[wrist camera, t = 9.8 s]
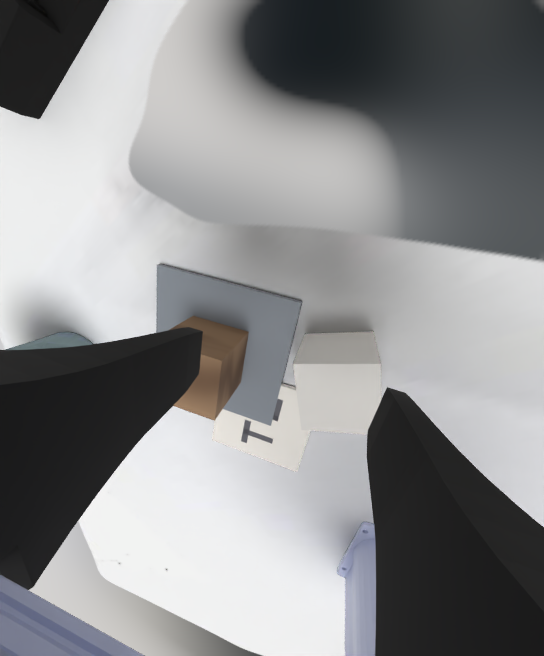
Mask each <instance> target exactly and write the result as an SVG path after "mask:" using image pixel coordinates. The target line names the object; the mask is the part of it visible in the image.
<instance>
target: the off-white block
mask: <svg viewBox="0 0 544 656" xmlns="http://www.w3.org/2000/svg"><path fill="white" fill-rule="evenodd" d="M293 369H294V377H295V385H296V392H297V400H298V407H299V415H300V423H301V430H307V431H321V432H334V433H347V434H361V435H368V429H369V426H370V424H371V422H372V420H373V418H374V415H375V413H376V411H377V409H378V407H379V404H380V402H381V361H380V357H379V352H378V348H377V344H376V339H375V335H374V331H367V332H339V333H311V334H305V335H304V337H303V340H302V342H301V345H300V347H299V350H298V352H297V355H296V357H295V360H294V362H293Z"/></svg>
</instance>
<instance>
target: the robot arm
mask: <svg viewBox="0 0 544 656" xmlns="http://www.w3.org/2000/svg"><path fill="white" fill-rule="evenodd" d="M202 336H203V331H201V330H197V329H194V328H191V327H184V328H178V329H172V330H168V331H163V332H158V333H154V334H149V335H144V336H139V337H134V338H129V339H123V340H118V341H112V342H106V343H100V344H92V345H84V346H75V347H63V348H46V349H29V350H0V656H144V655H142V654H140V653H139V652H137V651H135V650H134V649H132V648H130V647H128V646H126V645H125V644H123V643H121V642H119V641H117V640H116V639H114V638H112V637H110V636H109V635H107V634H105V633H103V632H101V631H100V630H98V629H96V628H94V627H93V626H91V625H89V624H87V623H85V622H84V621H82V620H80V619H78V618H77V617H75V616H73V615H71V614H69V613H68V612H66V611H64V610H62V609H60V608H59V607H57V606H55V605H53V604H51V603H50V602H48V601H46V600H44V599H43V598H41V597H39V596H37V595H35V594H34V593H32V592H30V591H28V590H29V589H31V588H32V587H33V586H34V585H35V583H36V582H37V580H38V579H39V577H40V576H41V574H42V573H43V571H44V570H45V568H46V567H47V565H48V564H49V562H50V561H51V559H52V558H53V556H54V555H55V553H56V552H57V550H58V549H59V547H60V546H61V545H62V543H63V542H64V540H65V539H66V537H67V536H68V534H69V533H70V531H71V530H72V528H73V527H74V525H75V524H76V523H77V521H78V520H79V519H80V517H81V516H82V515H83V513H84V512H85V510H86V509H87V508H88V506H89V505H90V503H91V502H92V501H93V499H94V498H95V496H96V495H97V494H98V492H99V491H100V490H101V488H102V487H103V486H104V485H105V483H106V482H107V481H108V479H109V478H110V477H111V475H112V474H113V473H114V471H115V470H116V469H117V467H118V466H119V465H120V464H121V462H122V461H123V460H124V459H125V457H126V456H127V455H128V454H129V452H130V451H131V450H132V449H133V447H134V446H135V445H136V444H137V443H138V442H139V441H140V439H141V438H142V437H143V436H144V435H145V434H146V433H147V432H148V431H149V430H150V429H151V428H152V427H153V426H154V425H155V424H156V423H157V422H158V421H159V420H160V419H161V417H162V416H163V415H164V414H165V413H166V412H167V411H168V410H169V409H170V408H171V407H172V406H173V405H174V404H175V403H176V402H177V401H178V400H179V399H180V398H181V397H182V396H183V395H184V394H185V393H186V391H187V390H188V389H189V387H190V386H191V385H192V383H193V382H194V380H195V379H196V378H197V376H198V375H199V370H200V359H201V348H202ZM367 462H368V472H369V482H370V491H371V500H372V509H373V518H374V524H371V523H369V522H363V523H362V524H361V526H360V527H359V529H358V531H357V533H356V535H355V537H354V538H353V540H352V542H351V544H350V546H349V548H348V549H347V551H346V553H345V555H344V557H343V559H342V560H341V562H340V564H339V566H338V568H337V574H338V575H340V576H342V577H344V578H345V656H544V527H543V526H541V525H540V524H539V523H538V522H536V521H535V520H534V519H533V518H532V517H530V516H529V515H528V514H527V513H526V512H524V511H523V510H522V509H521V508H520V507H518V506H517V505H516V504H515V503H514V502H513V501H512V500H511V499H509V498H508V497H507V496H506V495H505V494H504V493H503V492H502V491H500V490H499V489H498V488H497V487H496V486H495V485H494V484H493V483H491V482H490V481H489V480H488V479H487V478H486V477H485V476H484V475H483V474H482V473H481V472H480V471H479V470H478V469H477V468H476V467H475V466H474V465H473V464H472V463H471V462H470V461H469V460H468V459H467V458H466V457H465V456H464V455H463V454H462V453H461V452H460V451H459V450H458V449H457V448H456V447H455V446H454V445H453V444H452V443H451V442H450V441H449V440H448V439H447V438H446V437H445V436H444V434H443V433H442V432H441V431H440V430H439V429H438V428H437V427H436V426H435V425H434V423H433V422H432V421H431V420H430V419H429V418H428V417H427V416H426V414H425V413H424V412H423V411H422V410H421V409H420V408H419V407H418V406H417V404H416V403H415V402H414V401H413V400H412V399H411V398H410V397H409V396H408V395H407V394H406V393H404V392H401V391H397V390H394V389H391V388H388V387H387V389H386V391H385V393H384V396H383V398H382V400H381V402H380V404H379V407H378V409H377V411H376V413H375V415H374V418H373V420H372V422H371V424H370V426H369V429H368V436H367Z"/></svg>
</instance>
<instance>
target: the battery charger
mask: <svg viewBox="0 0 544 656" xmlns="http://www.w3.org/2000/svg"><path fill="white" fill-rule="evenodd" d="M108 1H109V0H0V106H1V107H3V108H6V109H8V110H10V111H13V112H15V113H18V114H20V115H24V116H28V117H33V118H37V119H40V118H41V116H42V114H43V112H44V111H45V109H46V107H47V106H48V104H49V102H50V100H51V99H52V97H53V95H54V94H55V92H56V90H57V88H58V87H59V85H60V83H61V82H62V80H63V78H64V76H65V75H66V73H67V71H68V70H69V68H70V66H71V64H72V63H73V61H74V59H75V58H76V56H77V54H78V52H79V51H80V49H81V47H82V46H83V44H84V42H85V40H86V39H87V37H88V35H89V34H90V32H91V30H92V29H93V27H94V25H95V23H96V22H97V20H98V18H99V17H100V15H101V13H102V11H103V10H104V8H105V6H106V5H107V3H108Z"/></svg>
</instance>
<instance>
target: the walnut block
mask: <svg viewBox="0 0 544 656" xmlns="http://www.w3.org/2000/svg"><path fill="white" fill-rule="evenodd" d="M184 327H191V328H194V329H197V330H201V331H203V336H202V348H201V359H200V370H199V375H198V376H197V378H196V379H195V380H194V382H193V383H192V385H191V386H190V387H189V389H188V390H187V391H186V393H185V394H184V395H183V396H182V397H181V398H180V399H179V400H178V401H177V402H176V403H175V404H174V405H173V406H176V407H178V408H181V409H184V410H187V411H189V412H192V413H195V414H198V415H201V416H203V417H206V418H209V419H212V420H214V421H215V419H216V418H217V417H218V415H219V414H220V412H221V411H222V409H223V408H224V406H225V405H226V403H227V402H228V400H229V399H230V398H231V396H232V395H233V393H234V392H235V390H236V389H237V387H238V386H239V384H240V383H241V378H242V372H243V366H244V359H245V353H246V347H247V341H248V334H249V332H248V331H244V330H241V329H237V328H234V327H230V326H227V325H223V324H220V323H217V322H213V321H210V320H206V319H203V318H199V317H196V316H192V317H190V318H188V319H187V320H185V321H183V322H181V323H180V324H178V325H176V326H175V327H173V328H171V329H169V330H172V329H178V328H184Z"/></svg>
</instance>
